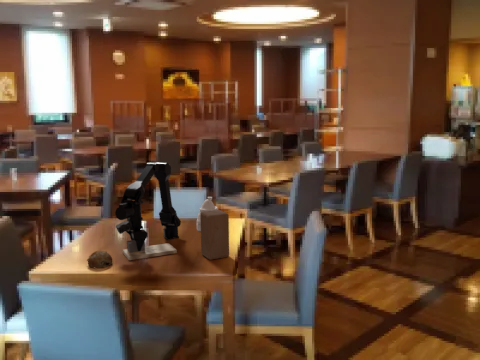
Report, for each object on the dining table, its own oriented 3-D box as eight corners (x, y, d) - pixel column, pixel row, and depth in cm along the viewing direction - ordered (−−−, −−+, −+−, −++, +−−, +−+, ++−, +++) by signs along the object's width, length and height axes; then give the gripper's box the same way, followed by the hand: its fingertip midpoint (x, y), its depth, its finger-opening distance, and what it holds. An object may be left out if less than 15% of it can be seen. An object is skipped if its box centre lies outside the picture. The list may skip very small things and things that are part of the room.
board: (168, 246, 230) (168, 243, 229) (176, 253, 219) (176, 249, 219) (122, 252, 220) (122, 249, 220) (128, 260, 209) (128, 257, 209)
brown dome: (96, 277, 199) (101, 262, 196) (80, 264, 203) (84, 248, 200) (114, 270, 207) (118, 256, 204) (98, 257, 211) (103, 242, 209)
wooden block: (209, 260, 208) (208, 216, 204) (200, 254, 216) (199, 211, 213) (230, 257, 212) (229, 213, 209) (220, 251, 221) (219, 208, 218)
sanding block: (142, 249, 220) (141, 238, 219) (145, 251, 216) (144, 241, 215) (127, 251, 217) (126, 240, 216) (129, 254, 213) (129, 243, 212)
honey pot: (225, 229, 259) (224, 196, 256) (205, 233, 251) (205, 200, 248) (210, 224, 269) (210, 193, 266) (192, 228, 261) (191, 196, 258)
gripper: (112, 212, 219) (114, 245, 221) (121, 221, 202) (123, 257, 205) (136, 210, 223) (138, 242, 226) (147, 218, 207) (148, 253, 209)
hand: (136, 248), depth 216 cm, fingers open, 9 cm apart
